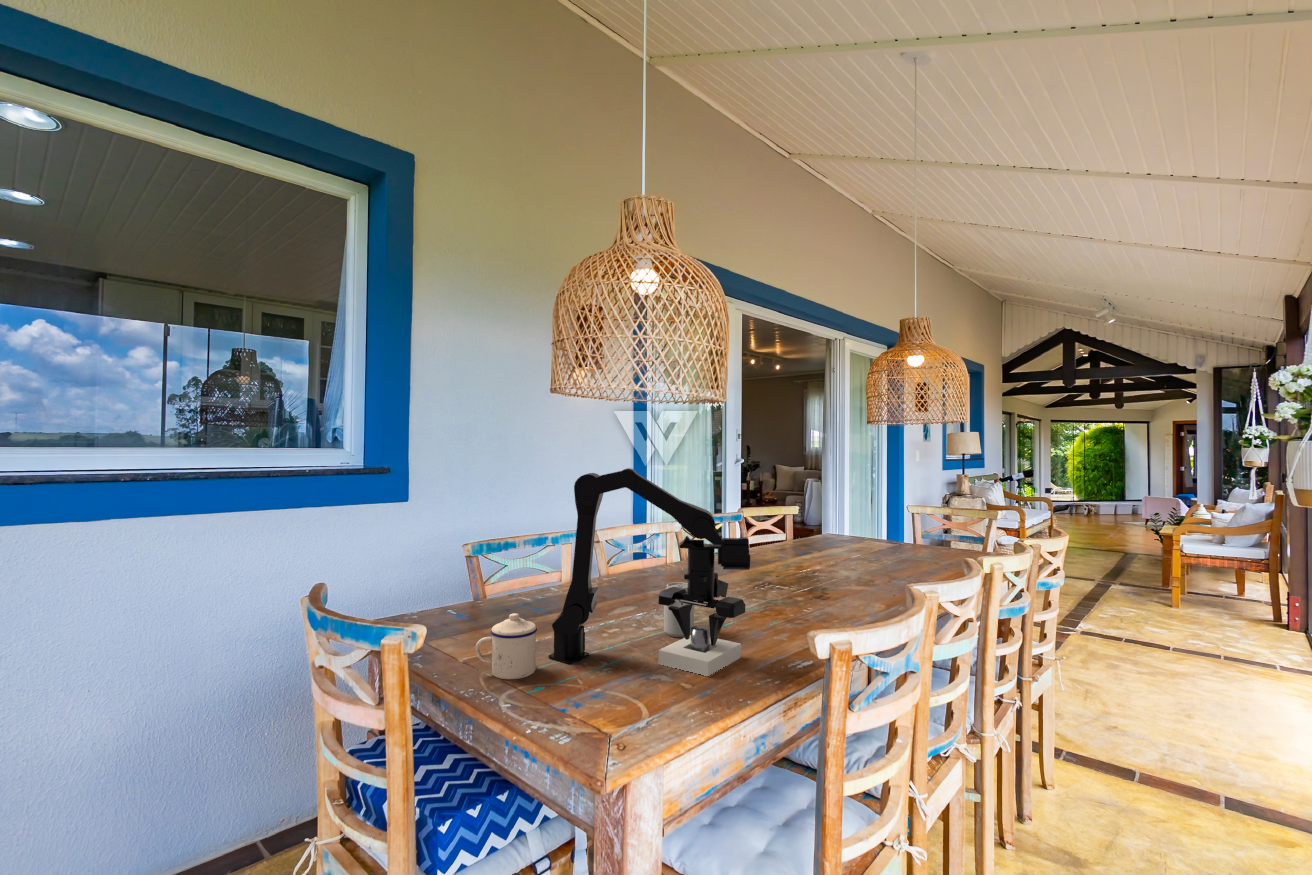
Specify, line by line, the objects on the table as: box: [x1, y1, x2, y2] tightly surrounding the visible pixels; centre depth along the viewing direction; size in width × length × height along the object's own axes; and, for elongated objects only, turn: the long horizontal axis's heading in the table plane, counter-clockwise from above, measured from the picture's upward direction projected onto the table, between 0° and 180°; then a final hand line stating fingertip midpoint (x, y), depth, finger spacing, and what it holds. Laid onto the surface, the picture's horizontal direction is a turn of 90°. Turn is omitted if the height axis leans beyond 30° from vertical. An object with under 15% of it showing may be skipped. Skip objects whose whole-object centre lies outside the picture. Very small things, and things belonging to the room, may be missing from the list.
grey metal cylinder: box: [691, 624, 710, 653], centre depth 134 cm, size 4×4×7 cm
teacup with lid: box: [475, 612, 538, 680], centre depth 126 cm, size 12×9×12 cm
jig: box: [658, 635, 742, 677], centre depth 134 cm, size 14×12×3 cm
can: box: [663, 581, 695, 638], centre depth 152 cm, size 8×8×12 cm
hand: (700, 641), depth 134 cm, fingers open, 6 cm apart
